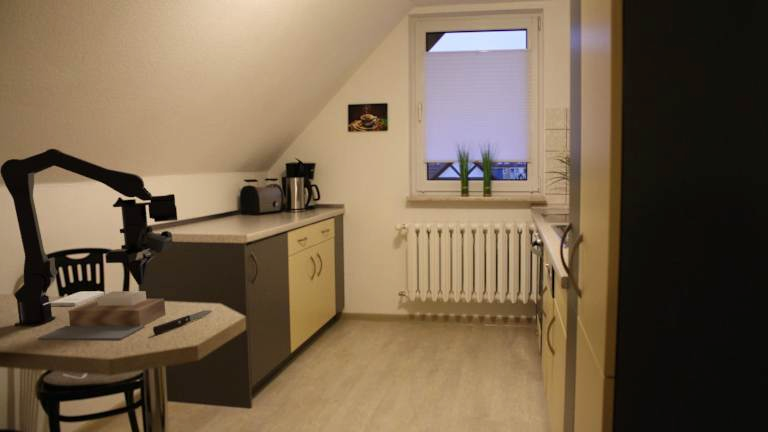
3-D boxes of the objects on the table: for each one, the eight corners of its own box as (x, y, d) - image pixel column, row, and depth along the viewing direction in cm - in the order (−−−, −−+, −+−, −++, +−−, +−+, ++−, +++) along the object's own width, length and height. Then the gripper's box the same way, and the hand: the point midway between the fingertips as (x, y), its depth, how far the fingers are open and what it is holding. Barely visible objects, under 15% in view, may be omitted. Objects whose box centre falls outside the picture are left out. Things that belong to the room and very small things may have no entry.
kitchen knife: (156, 336, 134) (155, 327, 134) (153, 335, 135) (152, 326, 134) (214, 314, 150) (213, 306, 150) (211, 314, 151) (210, 306, 150)
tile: (97, 305, 148) (97, 297, 147) (113, 299, 154) (112, 291, 153) (132, 305, 146) (131, 297, 146) (146, 299, 152) (145, 291, 152)
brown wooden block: (70, 327, 144) (68, 310, 144) (99, 314, 155) (98, 299, 155) (140, 327, 141) (138, 310, 141) (165, 314, 152) (164, 298, 152)
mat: (38, 339, 136) (38, 337, 136) (66, 327, 145) (66, 325, 145) (121, 339, 132) (120, 337, 132) (144, 327, 141) (144, 325, 141)
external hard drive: (104, 296, 179) (75, 308, 166) (79, 296, 180) (48, 308, 168) (104, 291, 178) (75, 302, 166) (78, 291, 180) (48, 302, 168)
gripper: (143, 227, 146) (149, 292, 147) (182, 218, 164) (187, 276, 165) (101, 228, 148) (107, 293, 149) (144, 219, 166) (149, 276, 167)
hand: (140, 284), depth 158 cm, fingers closed
